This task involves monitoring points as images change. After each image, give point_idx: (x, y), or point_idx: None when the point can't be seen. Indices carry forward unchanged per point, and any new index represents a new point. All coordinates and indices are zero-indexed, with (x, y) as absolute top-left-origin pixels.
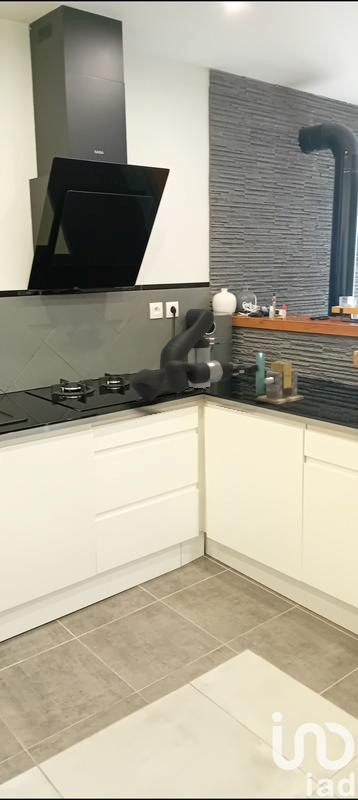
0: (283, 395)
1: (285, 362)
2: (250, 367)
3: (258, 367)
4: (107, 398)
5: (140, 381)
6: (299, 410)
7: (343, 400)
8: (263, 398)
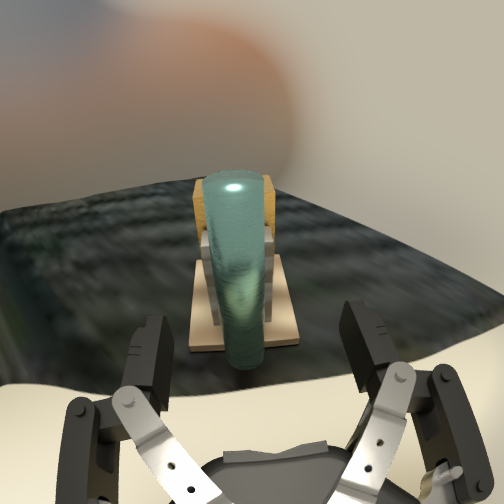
0: None
1: None
2: (464, 393)
3: (249, 275)
4: None
5: None
6: (394, 330)
7: (333, 221)
8: (223, 343)
